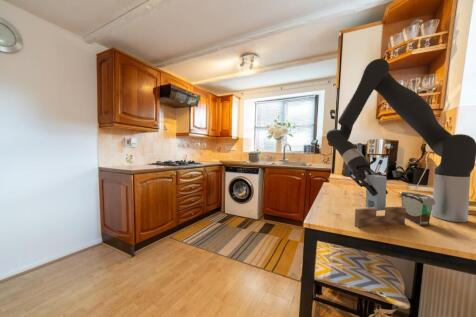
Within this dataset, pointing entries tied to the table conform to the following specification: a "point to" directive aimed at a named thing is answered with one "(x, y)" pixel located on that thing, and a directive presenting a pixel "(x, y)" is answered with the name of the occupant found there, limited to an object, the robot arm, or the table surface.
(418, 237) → the table surface
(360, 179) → the robot arm
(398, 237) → the table surface
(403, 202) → the food container
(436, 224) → the table surface
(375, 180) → the slate block
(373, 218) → the walnut board
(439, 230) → the table surface
